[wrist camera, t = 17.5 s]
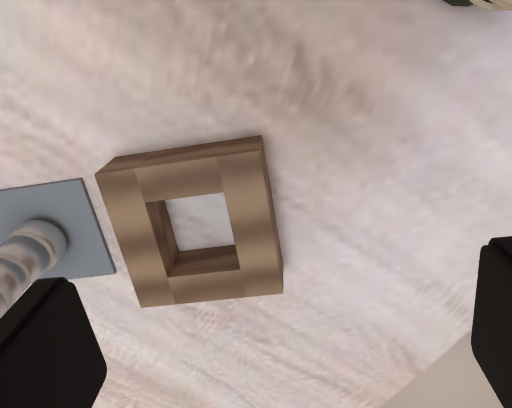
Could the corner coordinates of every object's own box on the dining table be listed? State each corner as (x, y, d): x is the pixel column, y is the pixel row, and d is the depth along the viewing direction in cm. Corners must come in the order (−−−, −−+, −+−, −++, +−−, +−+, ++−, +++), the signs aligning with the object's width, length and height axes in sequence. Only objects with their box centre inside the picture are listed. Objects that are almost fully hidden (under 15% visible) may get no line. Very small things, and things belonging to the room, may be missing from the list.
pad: (-19, 192, 52) (-23, 194, 51) (82, 178, 50) (80, 179, 50) (24, 282, 57) (21, 284, 57) (116, 271, 56) (114, 274, 55)
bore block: (115, 157, 49) (94, 174, 43) (261, 135, 47) (259, 150, 41) (154, 279, 56) (141, 307, 50) (283, 265, 54) (283, 293, 48)
